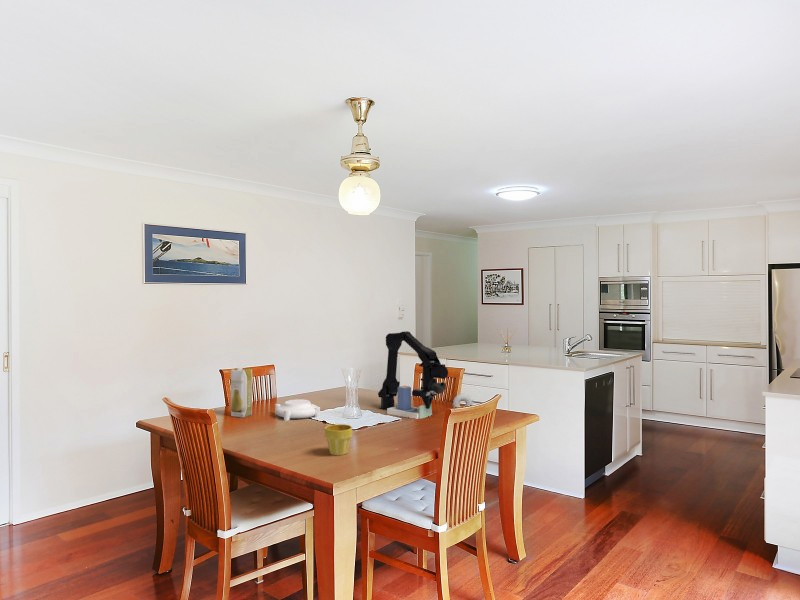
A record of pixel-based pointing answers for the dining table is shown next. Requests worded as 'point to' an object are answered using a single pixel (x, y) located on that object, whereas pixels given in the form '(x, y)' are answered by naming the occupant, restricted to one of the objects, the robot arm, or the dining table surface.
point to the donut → (462, 398)
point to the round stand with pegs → (297, 409)
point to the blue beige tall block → (404, 398)
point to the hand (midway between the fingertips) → (428, 408)
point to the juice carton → (241, 392)
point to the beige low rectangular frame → (403, 412)
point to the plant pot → (338, 438)
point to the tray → (421, 411)
